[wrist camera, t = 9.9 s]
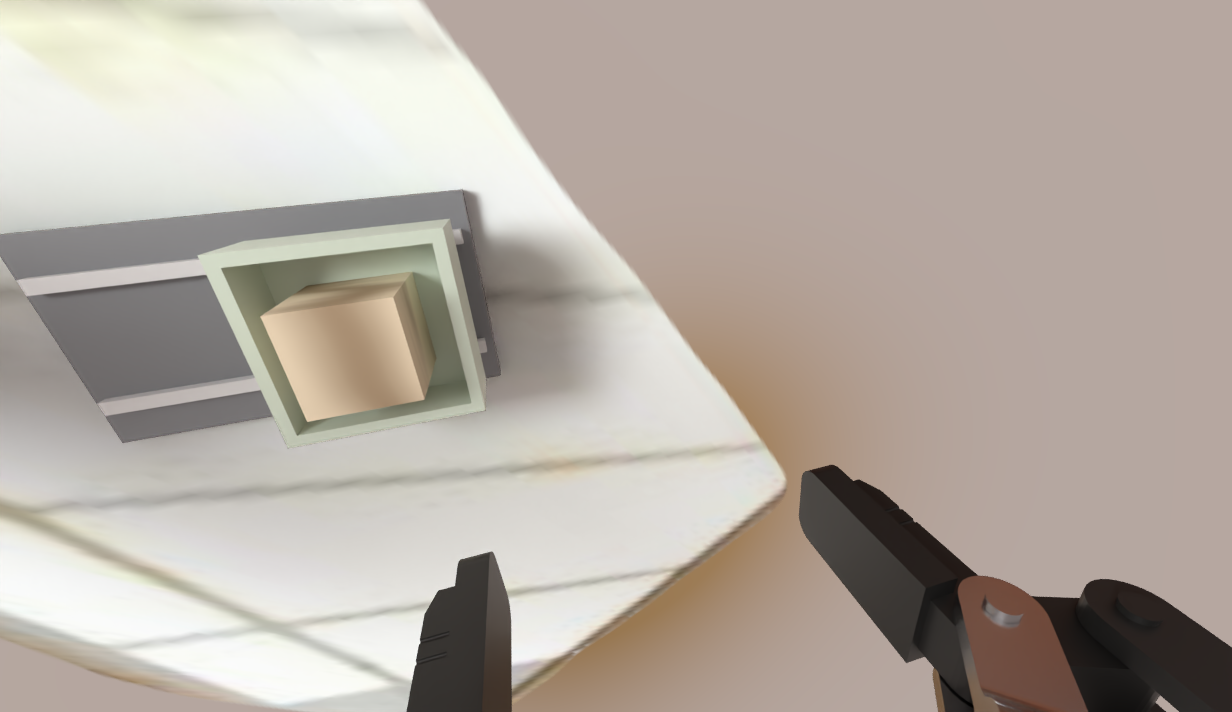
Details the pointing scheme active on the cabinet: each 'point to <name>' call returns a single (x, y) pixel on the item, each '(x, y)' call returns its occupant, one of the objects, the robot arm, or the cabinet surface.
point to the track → (188, 304)
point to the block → (353, 345)
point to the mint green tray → (286, 265)
